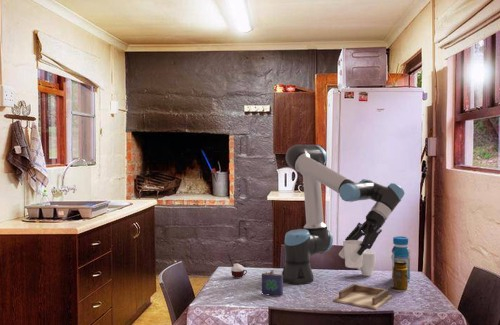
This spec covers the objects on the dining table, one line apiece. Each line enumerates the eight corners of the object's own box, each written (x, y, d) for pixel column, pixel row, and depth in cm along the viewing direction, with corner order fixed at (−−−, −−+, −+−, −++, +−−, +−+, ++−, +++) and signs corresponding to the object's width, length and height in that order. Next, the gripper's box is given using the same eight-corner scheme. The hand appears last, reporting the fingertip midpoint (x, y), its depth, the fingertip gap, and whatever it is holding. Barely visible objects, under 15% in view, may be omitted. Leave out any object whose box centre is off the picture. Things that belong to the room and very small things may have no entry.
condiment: (412, 289, 200) (411, 261, 200) (399, 292, 195) (399, 264, 195) (398, 285, 206) (398, 258, 206) (385, 288, 201) (385, 261, 201)
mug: (372, 272, 229) (372, 249, 228) (377, 276, 220) (377, 253, 220) (348, 273, 228) (348, 250, 228) (353, 277, 220) (353, 253, 220)
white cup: (341, 264, 189) (341, 240, 189) (360, 263, 190) (359, 239, 189) (346, 269, 181) (346, 244, 181) (366, 268, 182) (365, 243, 182)
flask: (283, 294, 194) (283, 269, 194) (282, 296, 191) (281, 271, 191) (262, 293, 196) (262, 268, 196) (260, 295, 194) (260, 270, 193)
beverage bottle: (400, 282, 209) (399, 239, 209) (387, 278, 217) (387, 236, 217) (414, 280, 213) (414, 238, 213) (401, 276, 221) (401, 235, 220)
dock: (333, 301, 184) (333, 292, 184) (351, 290, 199) (351, 282, 199) (376, 309, 174) (376, 300, 174) (392, 297, 188) (392, 289, 188)
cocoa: (247, 276, 225) (248, 252, 225) (245, 279, 219) (246, 254, 219) (228, 275, 227) (229, 251, 227) (225, 278, 220) (226, 253, 221)
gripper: (400, 224, 181) (367, 269, 176) (368, 218, 201) (338, 259, 195) (388, 211, 179) (355, 257, 174) (358, 207, 199) (327, 248, 193)
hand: (346, 258), depth 184 cm, fingers closed on white cup, 8 cm apart
